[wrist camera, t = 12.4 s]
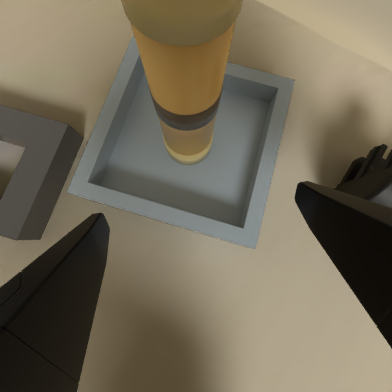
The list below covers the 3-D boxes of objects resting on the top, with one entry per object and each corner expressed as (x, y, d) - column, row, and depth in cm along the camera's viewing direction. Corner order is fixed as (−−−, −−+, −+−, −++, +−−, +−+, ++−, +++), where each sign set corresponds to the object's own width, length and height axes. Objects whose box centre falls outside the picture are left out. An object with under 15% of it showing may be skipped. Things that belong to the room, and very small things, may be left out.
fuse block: (83, 137, 20) (68, 124, 18) (40, 239, 18) (16, 240, 16) (-13, 110, 20) (-41, 93, 18) (-65, 207, 18) (-104, 203, 16)
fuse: (219, 137, 19) (290, -108, 5) (194, 173, 18) (201, -2, 5) (182, 114, 20) (159, -173, 6) (156, 148, 19) (59, -82, 5)
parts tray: (280, 101, 21) (294, 80, 18) (245, 246, 18) (255, 249, 15) (140, 63, 22) (132, 36, 19) (86, 199, 19) (66, 192, 16)
